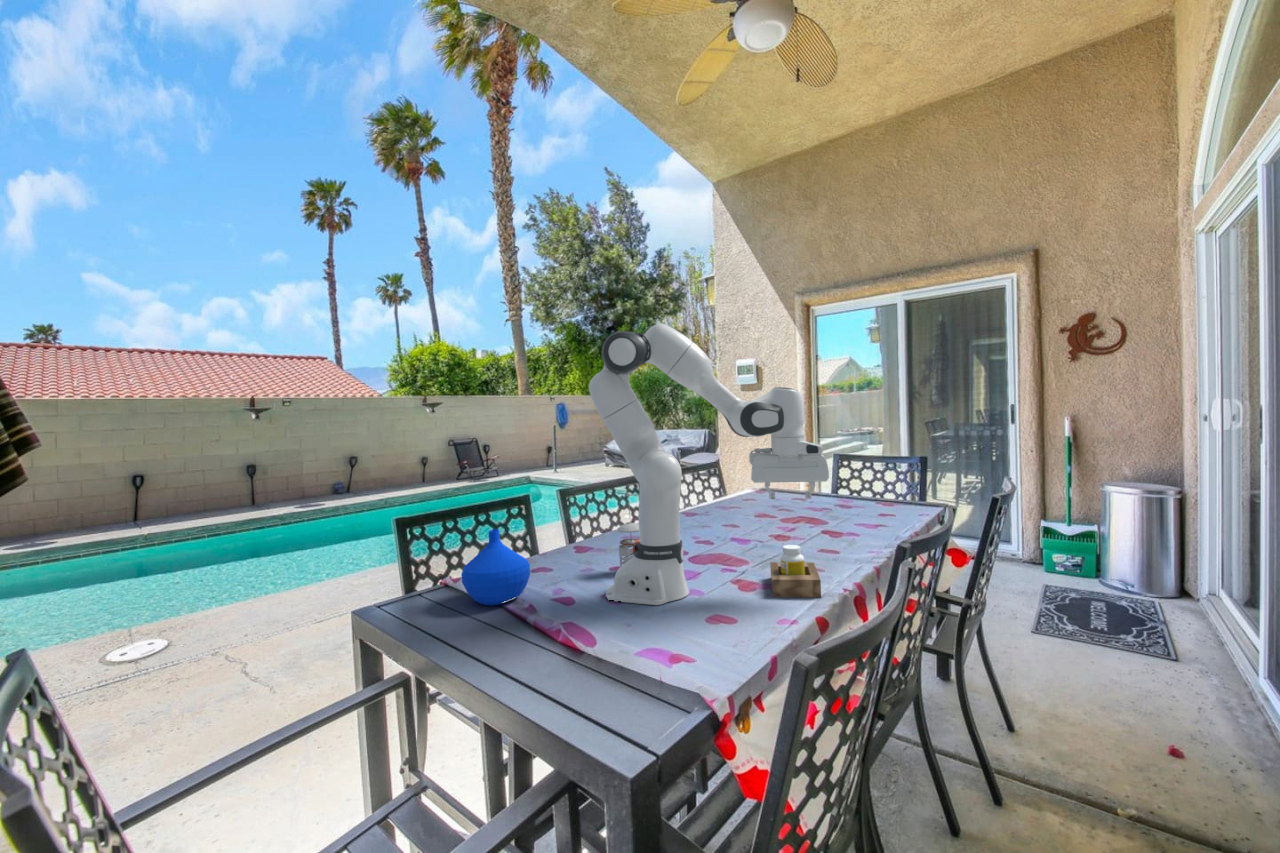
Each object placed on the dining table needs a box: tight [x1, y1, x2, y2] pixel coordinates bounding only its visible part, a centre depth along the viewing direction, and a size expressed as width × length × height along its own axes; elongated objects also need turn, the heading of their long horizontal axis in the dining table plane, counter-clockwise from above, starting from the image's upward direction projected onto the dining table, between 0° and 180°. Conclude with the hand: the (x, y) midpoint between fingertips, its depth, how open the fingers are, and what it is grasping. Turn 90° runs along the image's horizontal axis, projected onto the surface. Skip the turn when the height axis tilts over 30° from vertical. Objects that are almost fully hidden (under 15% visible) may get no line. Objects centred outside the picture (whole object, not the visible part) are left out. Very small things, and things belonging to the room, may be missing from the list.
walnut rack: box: [769, 561, 822, 598], centre depth 148 cm, size 12×16×4 cm
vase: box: [461, 529, 531, 606], centre depth 151 cm, size 18×18×19 cm
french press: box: [616, 491, 640, 568], centre depth 170 cm, size 10×12×25 cm
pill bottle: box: [780, 544, 805, 575], centre depth 148 cm, size 6×6×11 cm
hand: (790, 498), depth 147 cm, fingers open, 8 cm apart
